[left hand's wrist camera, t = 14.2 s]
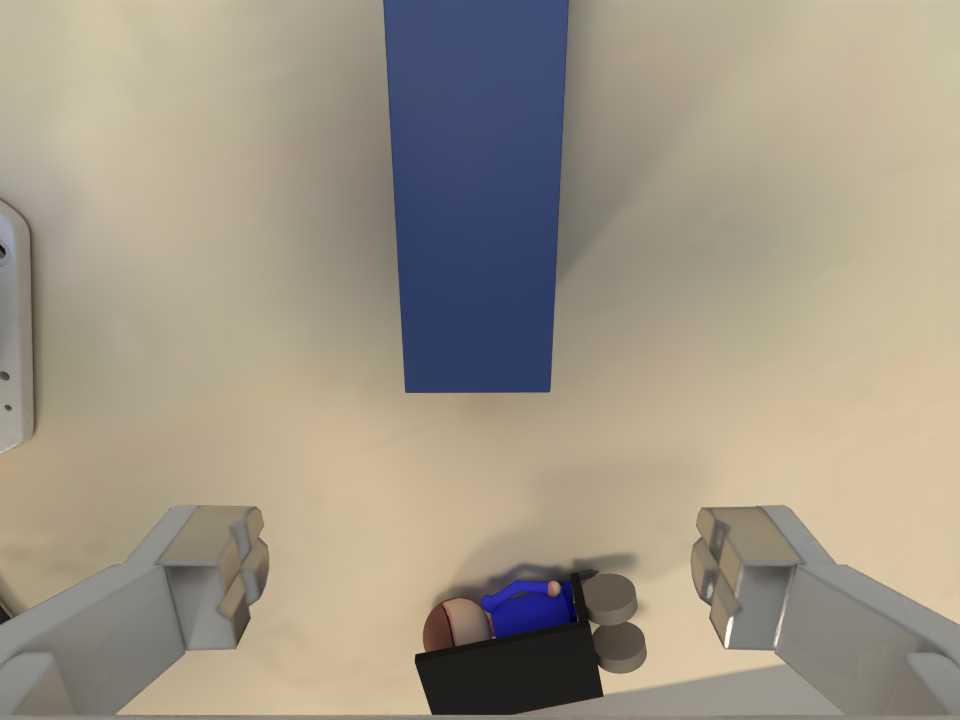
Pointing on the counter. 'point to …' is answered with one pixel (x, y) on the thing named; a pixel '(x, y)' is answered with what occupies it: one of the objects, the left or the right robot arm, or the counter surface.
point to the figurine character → (529, 646)
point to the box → (476, 188)
